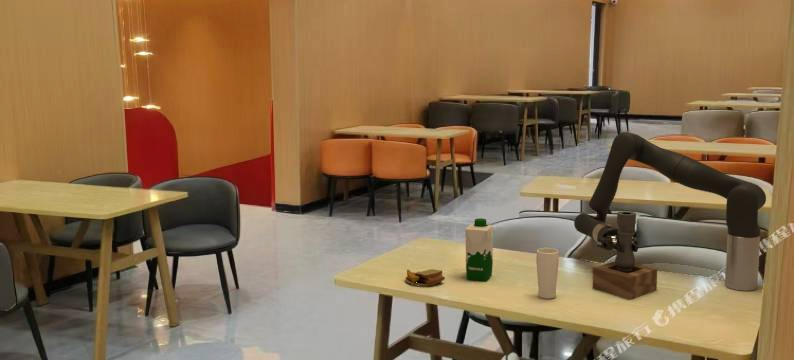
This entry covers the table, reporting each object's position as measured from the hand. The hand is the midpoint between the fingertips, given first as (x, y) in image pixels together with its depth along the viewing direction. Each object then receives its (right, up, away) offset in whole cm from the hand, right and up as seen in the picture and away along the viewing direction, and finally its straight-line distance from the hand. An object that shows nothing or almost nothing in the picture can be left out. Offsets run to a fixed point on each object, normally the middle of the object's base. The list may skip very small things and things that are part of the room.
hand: (629, 249), depth 218 cm
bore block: (0, -13, +5) cm, 14 cm away
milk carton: (-45, -12, +21) cm, 51 cm away
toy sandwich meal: (-63, -13, +19) cm, 67 cm away
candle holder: (0, -14, +5) cm, 14 cm away
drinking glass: (-26, -15, 0) cm, 30 cm away
